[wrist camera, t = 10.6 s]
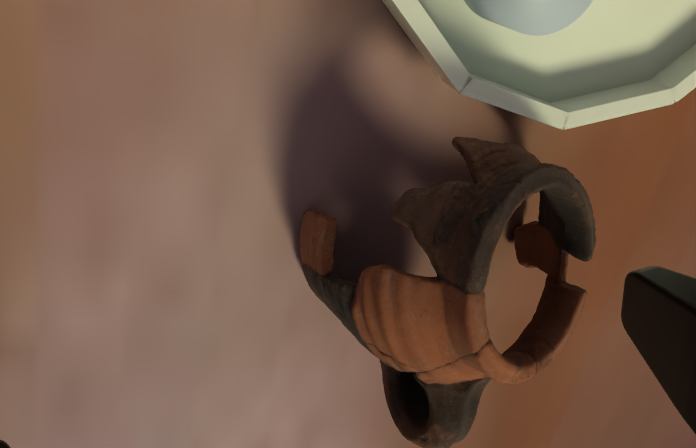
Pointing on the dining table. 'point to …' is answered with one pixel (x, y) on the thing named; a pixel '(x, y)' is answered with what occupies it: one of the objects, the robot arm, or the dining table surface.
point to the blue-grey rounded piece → (530, 14)
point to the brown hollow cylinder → (459, 287)
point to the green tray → (561, 58)
